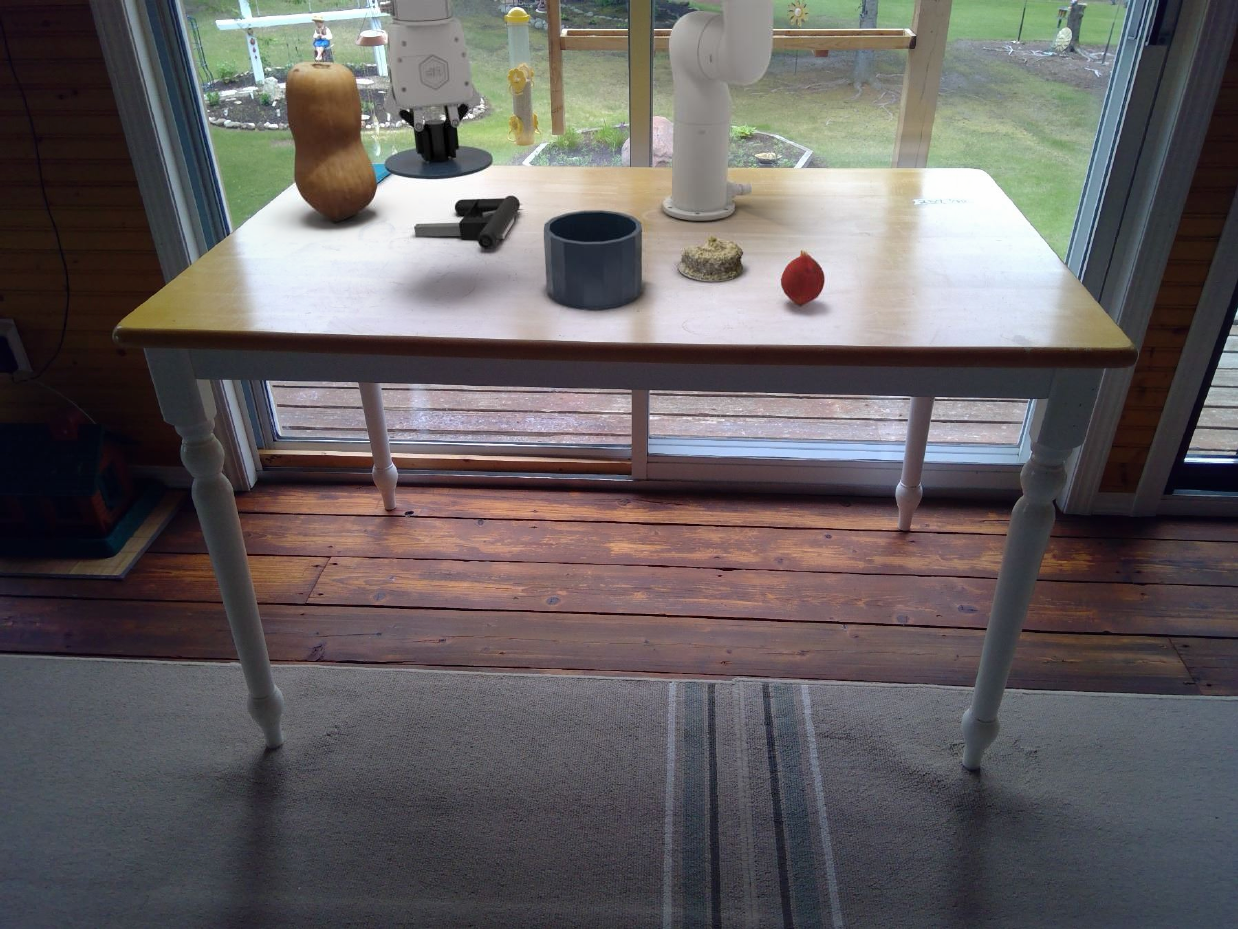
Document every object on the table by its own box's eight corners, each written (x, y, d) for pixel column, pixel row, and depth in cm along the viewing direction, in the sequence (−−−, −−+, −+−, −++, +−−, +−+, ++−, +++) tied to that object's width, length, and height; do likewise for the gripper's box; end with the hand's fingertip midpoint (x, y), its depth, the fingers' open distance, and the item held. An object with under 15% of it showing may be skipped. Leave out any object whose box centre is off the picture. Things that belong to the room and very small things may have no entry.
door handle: (401, 234, 149) (500, 232, 146) (437, 195, 165) (526, 192, 163) (405, 254, 150) (503, 252, 148) (440, 213, 167) (528, 211, 165)
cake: (756, 270, 143) (760, 237, 139) (716, 291, 137) (720, 257, 133) (704, 250, 148) (707, 217, 144) (664, 269, 142) (666, 236, 138)
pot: (618, 266, 143) (618, 205, 138) (657, 299, 133) (658, 234, 128) (534, 281, 139) (530, 218, 133) (567, 316, 128) (564, 249, 123)
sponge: (341, 181, 177) (369, 179, 176) (369, 163, 187) (395, 161, 186) (344, 189, 178) (372, 187, 177) (371, 171, 188) (397, 169, 186)
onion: (824, 300, 132) (830, 245, 128) (817, 316, 128) (824, 260, 123) (783, 295, 134) (788, 241, 129) (775, 311, 129) (780, 255, 125)
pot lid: (476, 148, 137) (472, 104, 133) (506, 175, 126) (503, 128, 122) (375, 160, 132) (369, 115, 129) (398, 189, 121) (391, 140, 117)
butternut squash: (393, 219, 162) (370, 64, 148) (317, 236, 155) (286, 75, 142) (362, 199, 171) (338, 51, 157) (290, 213, 165) (258, 61, 151)
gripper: (362, 17, 112) (384, 171, 123) (493, 8, 118) (504, 157, 128) (351, 9, 118) (373, 157, 128) (476, 1, 123) (488, 143, 134)
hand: (438, 155), depth 128 cm, fingers closed on pot lid, 2 cm apart
